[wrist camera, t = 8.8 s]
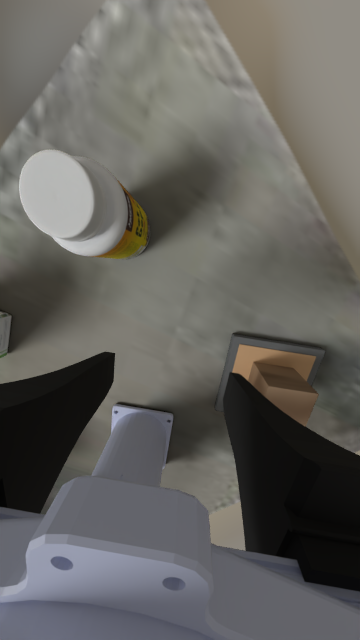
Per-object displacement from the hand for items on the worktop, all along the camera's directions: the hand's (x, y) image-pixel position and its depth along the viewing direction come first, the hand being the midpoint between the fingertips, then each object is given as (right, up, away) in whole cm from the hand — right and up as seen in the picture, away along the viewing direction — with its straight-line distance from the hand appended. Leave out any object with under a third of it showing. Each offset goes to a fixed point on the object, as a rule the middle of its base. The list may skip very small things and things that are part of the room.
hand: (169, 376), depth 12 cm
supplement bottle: (-5, +13, +8) cm, 16 cm away
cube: (+11, -4, +10) cm, 15 cm away
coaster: (+11, -4, +11) cm, 16 cm away
